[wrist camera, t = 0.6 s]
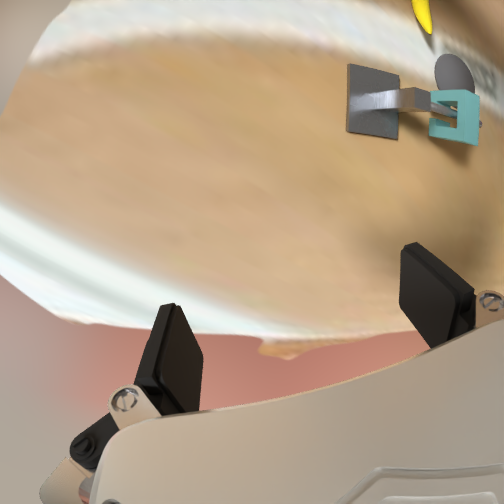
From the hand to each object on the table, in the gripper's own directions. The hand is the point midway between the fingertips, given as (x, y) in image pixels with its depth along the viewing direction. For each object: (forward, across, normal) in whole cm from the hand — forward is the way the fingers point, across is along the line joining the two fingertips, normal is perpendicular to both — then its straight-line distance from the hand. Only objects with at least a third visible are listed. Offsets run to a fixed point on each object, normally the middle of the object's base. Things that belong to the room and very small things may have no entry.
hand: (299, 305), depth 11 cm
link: (+26, -29, -5) cm, 39 cm away
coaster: (+29, -38, -11) cm, 49 cm away
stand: (+29, -24, -6) cm, 38 cm away
